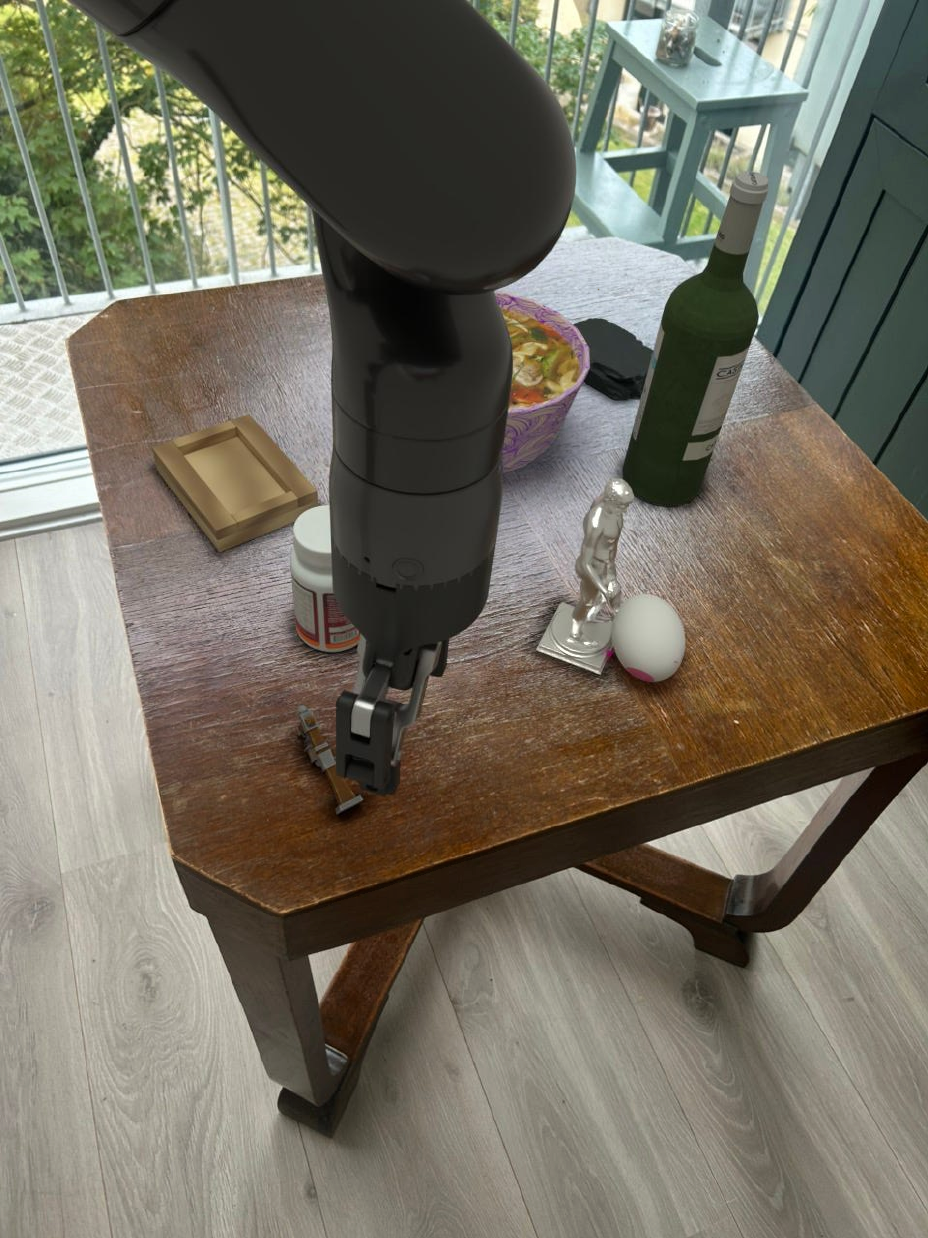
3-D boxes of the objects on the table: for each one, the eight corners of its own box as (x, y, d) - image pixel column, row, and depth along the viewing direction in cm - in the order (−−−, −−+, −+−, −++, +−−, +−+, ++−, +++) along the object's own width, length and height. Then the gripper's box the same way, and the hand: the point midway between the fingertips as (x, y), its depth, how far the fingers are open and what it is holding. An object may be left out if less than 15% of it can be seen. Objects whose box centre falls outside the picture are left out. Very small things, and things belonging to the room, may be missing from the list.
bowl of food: (518, 372, 105) (532, 274, 96) (606, 487, 93) (630, 388, 85) (345, 406, 99) (342, 305, 90) (416, 534, 87) (421, 432, 78)
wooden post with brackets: (304, 712, 72) (313, 697, 68) (352, 808, 71) (364, 798, 67) (283, 722, 71) (290, 708, 67) (330, 819, 70) (341, 810, 66)
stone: (620, 409, 102) (625, 387, 100) (542, 356, 107) (546, 333, 105) (670, 383, 106) (676, 360, 103) (593, 332, 111) (597, 310, 109)
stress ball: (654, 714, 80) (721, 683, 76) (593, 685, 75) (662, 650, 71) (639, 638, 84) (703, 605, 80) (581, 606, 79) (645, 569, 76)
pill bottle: (379, 608, 81) (380, 509, 72) (356, 663, 77) (355, 565, 68) (310, 591, 82) (303, 492, 73) (284, 645, 78) (273, 546, 69)
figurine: (589, 700, 76) (637, 539, 63) (516, 660, 78) (547, 496, 65) (634, 634, 81) (687, 472, 68) (563, 599, 83) (602, 434, 70)
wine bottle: (697, 514, 92) (805, 210, 69) (616, 498, 92) (697, 191, 70) (702, 463, 97) (804, 165, 74) (625, 448, 98) (703, 147, 75)
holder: (219, 552, 84) (215, 530, 82) (156, 469, 90) (151, 446, 88) (318, 512, 88) (317, 490, 86) (251, 435, 94) (249, 413, 92)
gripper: (388, 409, 48) (384, 620, 60) (270, 609, 39) (293, 810, 51) (533, 445, 47) (498, 652, 59) (446, 659, 38) (427, 852, 50)
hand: (403, 725), depth 55 cm, fingers open, 8 cm apart
